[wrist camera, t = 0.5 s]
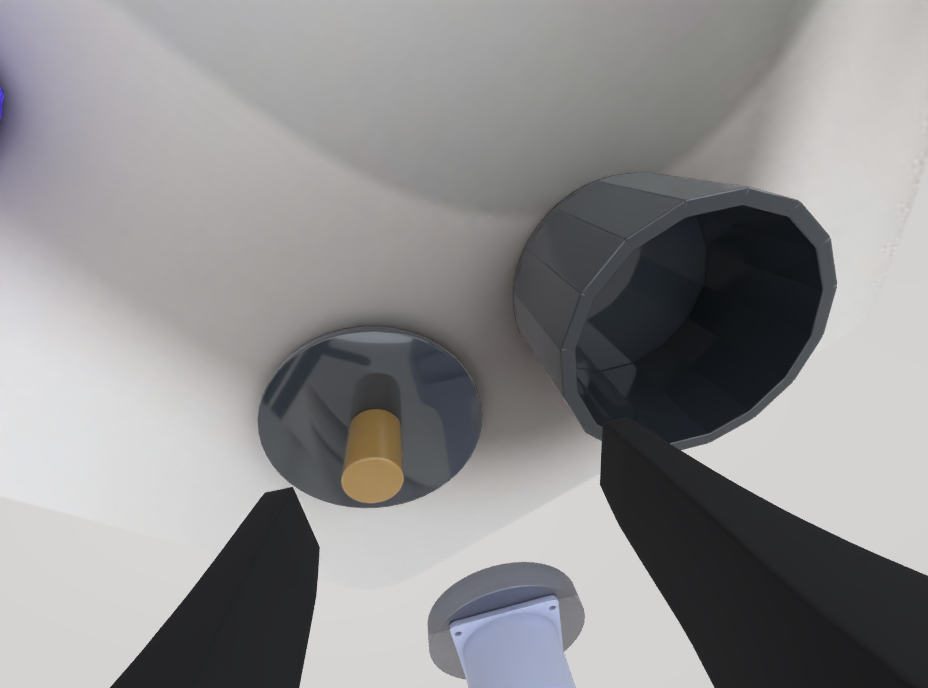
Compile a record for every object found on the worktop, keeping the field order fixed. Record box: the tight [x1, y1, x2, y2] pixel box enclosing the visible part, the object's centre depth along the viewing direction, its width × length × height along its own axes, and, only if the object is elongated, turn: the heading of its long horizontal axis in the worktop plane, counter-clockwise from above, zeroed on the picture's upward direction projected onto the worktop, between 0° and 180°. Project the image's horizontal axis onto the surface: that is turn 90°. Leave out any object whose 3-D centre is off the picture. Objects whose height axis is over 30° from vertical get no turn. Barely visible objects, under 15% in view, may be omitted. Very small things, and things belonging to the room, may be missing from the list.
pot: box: [513, 172, 837, 450], centre depth 16 cm, size 9×9×6 cm
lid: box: [258, 326, 482, 508], centre depth 18 cm, size 10×10×4 cm
